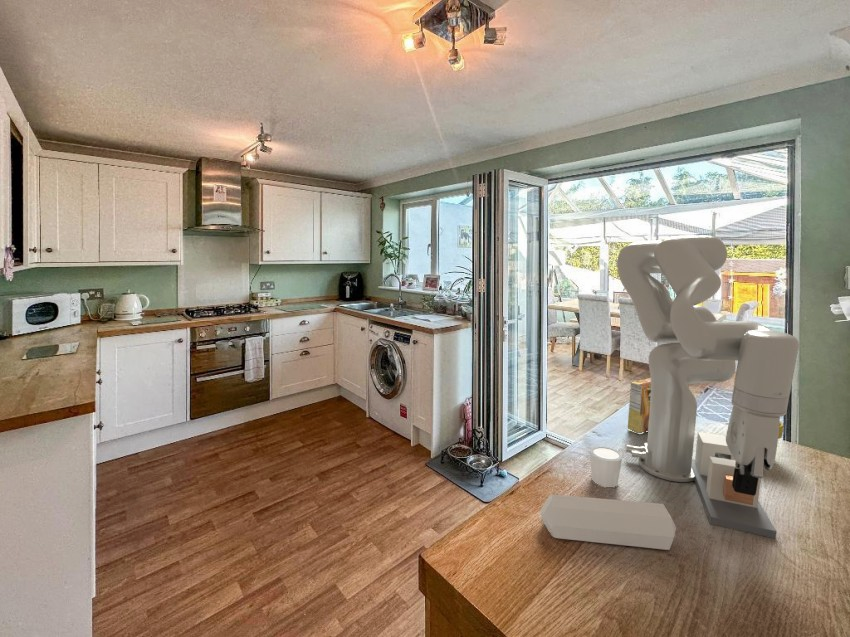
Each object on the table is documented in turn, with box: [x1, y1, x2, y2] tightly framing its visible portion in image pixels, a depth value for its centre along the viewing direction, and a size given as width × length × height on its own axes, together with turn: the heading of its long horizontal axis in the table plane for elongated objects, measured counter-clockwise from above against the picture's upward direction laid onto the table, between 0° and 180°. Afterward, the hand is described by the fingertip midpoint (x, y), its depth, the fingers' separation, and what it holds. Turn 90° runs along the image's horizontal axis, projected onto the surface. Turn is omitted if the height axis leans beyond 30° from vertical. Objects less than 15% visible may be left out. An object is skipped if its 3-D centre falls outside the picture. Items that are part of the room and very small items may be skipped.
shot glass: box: [589, 446, 623, 488], centre depth 91 cm, size 7×7×7 cm
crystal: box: [540, 494, 677, 551], centre depth 74 cm, size 7×7×24 cm
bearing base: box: [691, 431, 777, 540], centre depth 85 cm, size 24×10×10 cm, turn 154°
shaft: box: [715, 453, 754, 505], centre depth 86 cm, size 20×4×4 cm, turn 154°
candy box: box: [627, 377, 651, 433], centre depth 117 cm, size 9×4×15 cm, turn 116°
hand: (743, 491), depth 73 cm, fingers closed
